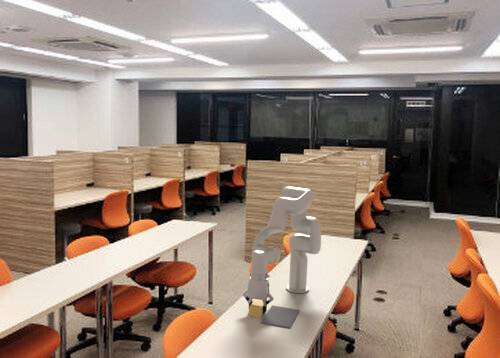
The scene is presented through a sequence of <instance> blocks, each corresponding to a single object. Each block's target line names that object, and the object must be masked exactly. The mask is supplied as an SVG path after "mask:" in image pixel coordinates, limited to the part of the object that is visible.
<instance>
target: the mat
mask: <svg viewBox="0 0 500 358" xmlns="http://www.w3.org/2000/svg"><path fill="white" fill-rule="evenodd" d="M265 313H266V314H264V315H263V318H261V321H260V324H263V325H268V326H269V325H270V326H274V327H279V328H286V329H291V327H292V325H293V324H294V322H295V320H296V319H297V316H298V315H299V313H300V309H297V308H291V307H283V306H278V305H271V306H270V307H269V309H268V310H267V311H266V312H265Z"/></svg>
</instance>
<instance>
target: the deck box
mask: <svg viewBox="0 0 500 358" xmlns="http://www.w3.org/2000/svg"><path fill="white" fill-rule="evenodd" d="M252 302H253V303H252V304H251V305H250V306H249V305H248V316H249V317H252V318H253V317H254V318H259V319H262V317H263V316H264V314H263V305H264V304H263V301H262V300H258V299H253V300H252Z"/></svg>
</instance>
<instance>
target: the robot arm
mask: <svg viewBox="0 0 500 358" xmlns="http://www.w3.org/2000/svg"><path fill="white" fill-rule="evenodd" d="M314 198H315V196H314V192H313V190H311V189H309V188H304V187H303V188H302V187H297V186H285V187H283V188H282V190H281V196H280V197H277V198H276V200H275V201H274V204H273V208H272V211H271V215H270V218H269V222H268V223H267V225H266V226H265V227H263V228H262V229H261V230H260V231H259V232H258V233H257V235H256V237H255V238H254V241H253V246H252V248H251V249H252V250H251V264H250V266H251V268H250V270H251V271H250V277H249V280H248V284H247V290H246V291H245V292H243V293H242V296H243V297H244V298H245V300H246V302H247V304H248V307H249V306H250V305H251V304H252V303H253V301H254V300H258V301H263V304H264V305H263V315H265V313H267V312H268V309H267V307H268V305H269V304H271V302H273V301H274V296H272V294H271V293H270V281H269V279H270V274H268V265H274V264H276V263H278V262H279V261H280V258H281V252H280V250H279V249H278V248H275V247H272V246H267V245H264V243H265V241H266V240H267V238H268V237H270V236H271V235H275V234H277V233H281V232H284V231H285V229H286V226H287V222H288V219H289V216H291V228H292V229H291V230H292V231H294V232H295V233H293V234H292V235H291V236H290V237H289V240H288V241H289V242H288V243H289V250H290V251H289V253H290V256H289V257H290V259H289V261H290V262H289V277H288V279H289V280H288V284H287V285H286V287H285V289H286V291H288V292H289V293H292V294H306V293H307V292H309V291H310V287H309V286H308V285H307V279H308V262H309V260H308V256H307V254H310V255H317V254H319V253H320V251H321V247H322V224H321V221H320V220H319V218H317V217H314V216H309V215H308V208H309V207H310V206H311V205H312V203H313V202H314Z"/></svg>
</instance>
